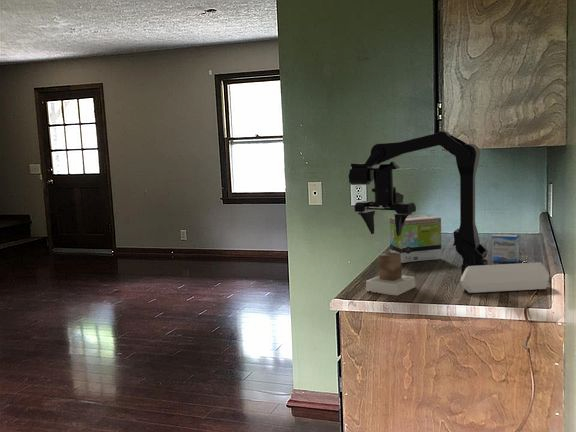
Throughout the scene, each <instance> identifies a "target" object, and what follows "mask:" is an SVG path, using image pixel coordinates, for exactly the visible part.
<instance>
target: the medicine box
mask: <svg viewBox="0 0 576 432" xmlns="http://www.w3.org/2000/svg"><path fill="white" fill-rule="evenodd" d="M491 250H492V251H491V252H492V253H491V258H492V259H491V261H492V262H493V263H512V262H515V263H514V264H517V263H519V260H520V236H519V234H501V233H500V234H499V233H498V234H494V233H493V235H492V236H491Z"/></svg>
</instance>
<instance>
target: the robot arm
mask: <svg viewBox="0 0 576 432" xmlns="http://www.w3.org/2000/svg"><path fill="white" fill-rule="evenodd" d="M437 146H440V147H442V148H443V149H445V151H446V152H448V153H450V154H451V155H453V156H454V157H455V162H456V167H457V170H458V173H459V176H460V177H459V178H460V179H459V181H460V183H459V187H460V190H459V191H460V193H459V195H460V197H459V198H460V200H459V201H460V203H459V204H460V205H459V207H460V212H459V213H460V222H459V228H456V229H455V230H454V231H453V239H454V241H453V245H452V246H453V247H454V246H455V251H456V253H457V254H459V255H460V256H461V258H462V264H461V265H460V268H461V270H460V271H461V276H460V278H461V277H462V275H463V273H464V271H465V269H466V268H467V267H468V266H480V265H489V262H488V259H485V258H486V257H487V255H488V250H487V249H486V248H485V247H484V246H483V245H482V244H481V242H480V237H479V232H478V229H477V226H476V174H477V171H478V166H479V162H480V158H481V157H480V156H481V150H480V148H479V147H478V146H477V145H476V144H474V143H467V142H465V141H463V140H462V139H460V138H458V137H456V136H454V135H452V134H451V133H449V132H448V131H446V130H444V131H441V130H440V131H438V132H435V133H432V134H428V135H423V136H420V137H415V138H411V139H408V140H404V141H395V142H382V143H381V142H379V143H376V144H374V145H373V146H372V147H371V148H370V155H369V156H368V158H367V160H366V161H365V163H359V162H351V163H350V169H349V171H348V182H349V184H350V185H351V186H365V185H366V186H367V185H368V186H369V185H371V183H372V182H373V186H374V187H373V188H371V192H372V193H374V200H363V201H357V202H356V203H355V204H354V206H353V207H354V212H356V213H357V212H358V213H357V215H359V216H360V217H361V218H362V220H363V221H364V223H365V225H366V227H367V228H368V230H369V233H370V235H374V234H375V218H374V217H375V215H376V211H394V212H395V213H396V214H394V217H395V225H396V233H397V236H400V234H401V231H402V228H403V225H404V222H405V220H406V218H407V216H412V213H416V212H417V206H416V204H415V202H413V201H412V202H411V201H404V197H405V195H404V194H402V193H400V192H397V189H396V186H394V176H393V170H394V171H395V170H398V169H400V166H399V165H398V164H397V163H396V162H395V161H394V160H395V159H396V158H399V157H401V156H402V155H405V154H409V153H412V152H416V151H421V150H426V149H431V148H434V147H437ZM391 160H392V161H391ZM389 161H390V163H387V162H389ZM385 162H386V163H385ZM378 165H379V166H378ZM374 166H378V167H374Z"/></svg>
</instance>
